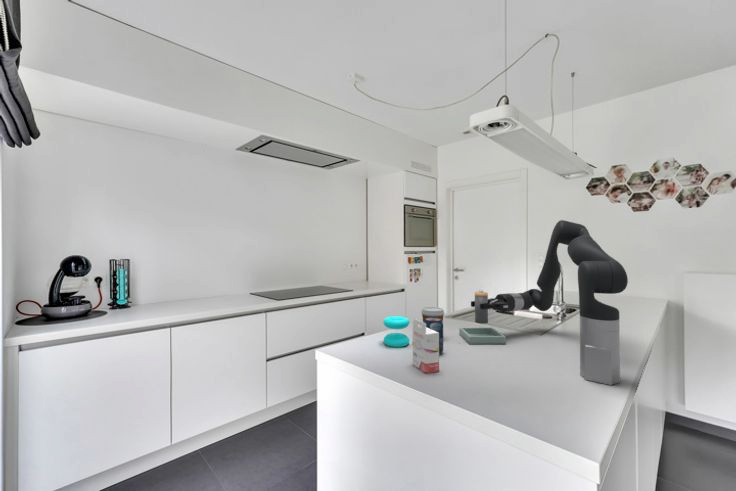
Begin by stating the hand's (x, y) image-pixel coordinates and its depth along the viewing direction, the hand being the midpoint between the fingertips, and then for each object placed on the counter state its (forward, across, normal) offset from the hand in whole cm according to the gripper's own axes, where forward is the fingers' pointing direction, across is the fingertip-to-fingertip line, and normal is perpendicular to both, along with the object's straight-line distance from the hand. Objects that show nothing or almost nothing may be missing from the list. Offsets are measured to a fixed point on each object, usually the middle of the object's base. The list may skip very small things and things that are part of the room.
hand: (476, 305), depth 128 cm
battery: (-3, 0, +7) cm, 7 cm away
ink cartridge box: (+34, +19, +14) cm, 41 cm away
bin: (-2, 0, +14) cm, 14 cm away
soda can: (+24, +8, +14) cm, 29 cm away
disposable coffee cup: (+15, -8, +14) cm, 22 cm away
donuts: (+32, -6, +14) cm, 36 cm away
